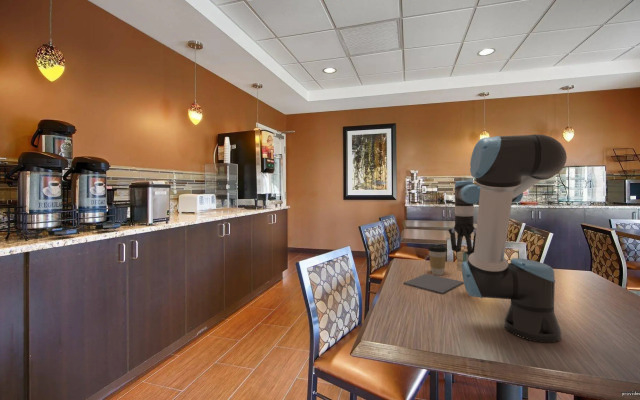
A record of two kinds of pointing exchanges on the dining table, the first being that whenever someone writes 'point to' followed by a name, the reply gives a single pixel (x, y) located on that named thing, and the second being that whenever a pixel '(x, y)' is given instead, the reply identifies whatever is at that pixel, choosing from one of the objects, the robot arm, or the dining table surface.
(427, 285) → the mat
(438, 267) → the coffee cup
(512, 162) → the robot arm
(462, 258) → the tan and green block
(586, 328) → the dining table surface
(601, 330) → the dining table surface
